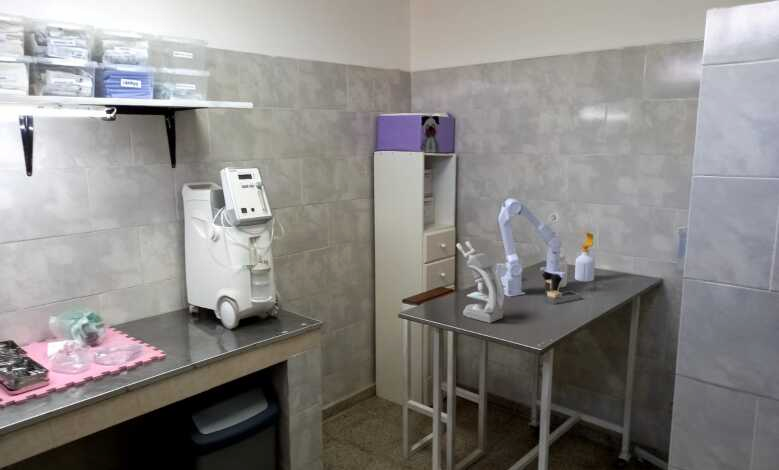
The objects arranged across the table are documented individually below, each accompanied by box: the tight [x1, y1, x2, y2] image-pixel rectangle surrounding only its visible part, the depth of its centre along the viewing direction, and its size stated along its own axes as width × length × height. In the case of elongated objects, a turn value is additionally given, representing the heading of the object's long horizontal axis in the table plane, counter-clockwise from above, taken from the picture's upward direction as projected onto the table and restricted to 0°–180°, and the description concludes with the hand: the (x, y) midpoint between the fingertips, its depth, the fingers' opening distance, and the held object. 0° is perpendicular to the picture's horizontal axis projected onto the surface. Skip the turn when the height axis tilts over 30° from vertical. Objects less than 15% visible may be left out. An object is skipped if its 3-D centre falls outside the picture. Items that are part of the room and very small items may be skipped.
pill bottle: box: [559, 254, 568, 288], centre depth 269 cm, size 8×8×15 cm
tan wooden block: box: [544, 279, 560, 294], centre depth 258 cm, size 5×4×6 cm, turn 116°
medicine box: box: [495, 263, 508, 279], centre depth 280 cm, size 8×4×9 cm, turn 84°
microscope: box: [455, 240, 505, 324], centre depth 225 cm, size 11×19×30 cm, turn 45°
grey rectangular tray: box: [542, 290, 583, 305], centre depth 247 cm, size 16×7×2 cm, turn 116°
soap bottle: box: [574, 231, 596, 283], centre depth 278 cm, size 9×9×25 cm
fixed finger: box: [546, 291, 562, 299], centre depth 245 cm, size 4×5×3 cm
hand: (552, 289), depth 258 cm, fingers closed on tan wooden block, 3 cm apart
